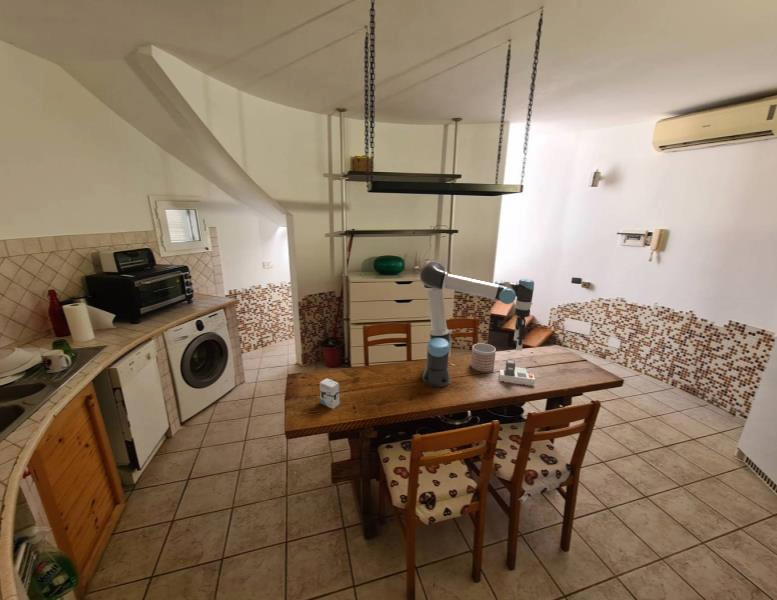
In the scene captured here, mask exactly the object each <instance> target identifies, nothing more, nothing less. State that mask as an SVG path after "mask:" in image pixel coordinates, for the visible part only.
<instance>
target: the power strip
mask: <svg viewBox="0 0 777 600" xmlns="http://www.w3.org/2000/svg"><path fill="white" fill-rule="evenodd" d="M498 379H500V380H499V382H502V381H504V383H509V382H510V383H509V384H518V385H523V384H525V386H530V385H531V387H534V386H535V383H536V378H535V375H534V373H528V372H527V373H522V372H514V376H508V375H505V369H499V372H498Z"/></svg>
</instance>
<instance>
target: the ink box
mask: <svg viewBox="0 0 777 600" xmlns="http://www.w3.org/2000/svg"><path fill="white" fill-rule="evenodd" d="M319 398H320V399H319V400H320V401H319V402H320V404H322V405H323V406H326V407H328V408H330V409H332V410H334V409H335V408H336V407H338V406H340V383H339V382H338V381H334V380H333V379H330V378H325V379H323V380H320V381H319Z"/></svg>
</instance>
